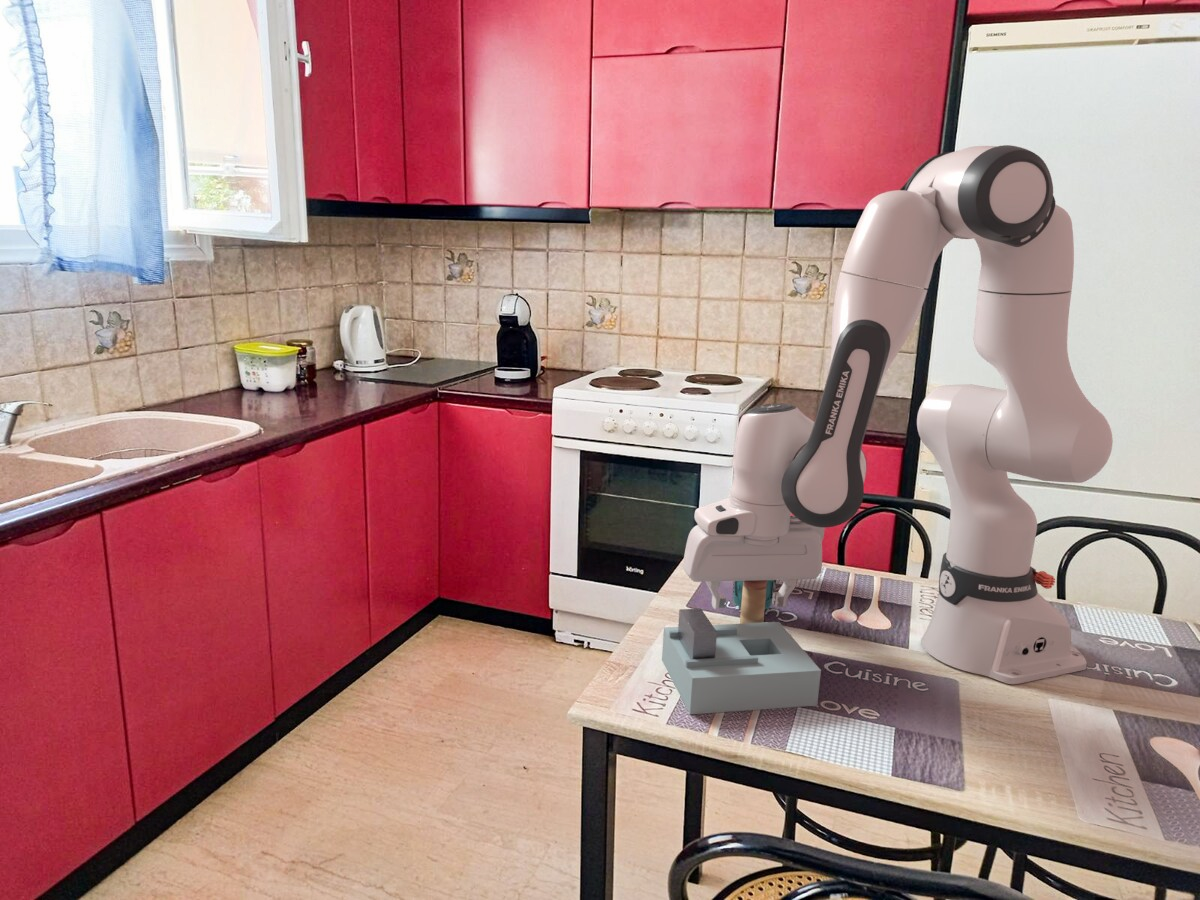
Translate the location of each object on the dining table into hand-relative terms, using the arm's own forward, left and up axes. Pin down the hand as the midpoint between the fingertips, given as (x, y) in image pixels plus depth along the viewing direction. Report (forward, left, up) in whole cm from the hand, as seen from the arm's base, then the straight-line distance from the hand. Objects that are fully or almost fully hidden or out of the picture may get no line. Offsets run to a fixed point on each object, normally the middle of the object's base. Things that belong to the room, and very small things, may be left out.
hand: (748, 606), depth 123 cm
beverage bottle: (-5, -11, -6) cm, 13 cm away
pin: (-1, -1, -6) cm, 6 cm away
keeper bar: (+11, +10, -1) cm, 15 cm away
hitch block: (+5, +10, -6) cm, 13 cm away
